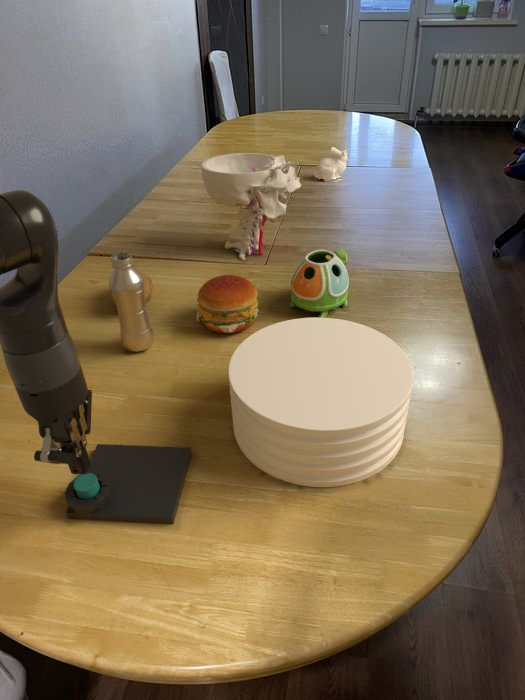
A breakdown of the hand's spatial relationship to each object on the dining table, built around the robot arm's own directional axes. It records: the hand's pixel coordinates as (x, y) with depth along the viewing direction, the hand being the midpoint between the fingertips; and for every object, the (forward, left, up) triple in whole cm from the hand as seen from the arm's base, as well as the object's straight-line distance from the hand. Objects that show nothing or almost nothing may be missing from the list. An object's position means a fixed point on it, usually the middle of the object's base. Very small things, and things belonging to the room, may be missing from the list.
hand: (81, 470), depth 70 cm
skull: (+15, +87, -7) cm, 88 cm away
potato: (-10, +56, -7) cm, 57 cm away
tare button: (0, 0, -4) cm, 4 cm away
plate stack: (+32, +19, -7) cm, 38 cm away
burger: (+13, +49, -7) cm, 51 cm away
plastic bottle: (-4, +39, -7) cm, 39 cm away
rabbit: (+38, +146, -7) cm, 151 cm away
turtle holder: (+33, +58, -7) cm, 67 cm away
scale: (+5, +4, -7) cm, 9 cm away
